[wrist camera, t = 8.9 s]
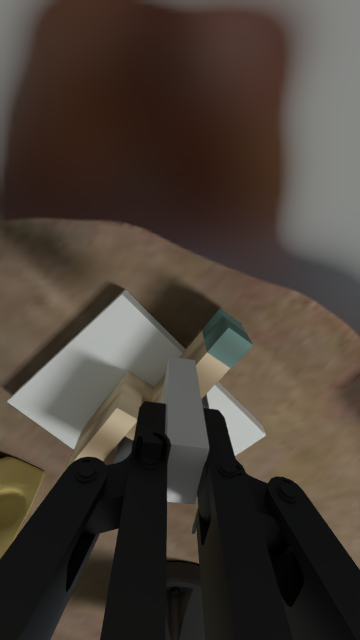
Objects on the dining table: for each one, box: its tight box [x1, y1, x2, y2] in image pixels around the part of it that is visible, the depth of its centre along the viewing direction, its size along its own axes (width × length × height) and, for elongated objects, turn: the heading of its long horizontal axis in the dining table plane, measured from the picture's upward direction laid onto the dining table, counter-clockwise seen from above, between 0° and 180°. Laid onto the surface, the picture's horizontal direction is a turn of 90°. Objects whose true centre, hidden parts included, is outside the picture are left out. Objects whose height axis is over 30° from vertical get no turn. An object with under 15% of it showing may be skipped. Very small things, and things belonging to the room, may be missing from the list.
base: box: [7, 290, 266, 464], centre depth 26 cm, size 20×16×8 cm
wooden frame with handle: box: [66, 309, 253, 469], centre depth 24 cm, size 18×8×5 cm, turn 143°
